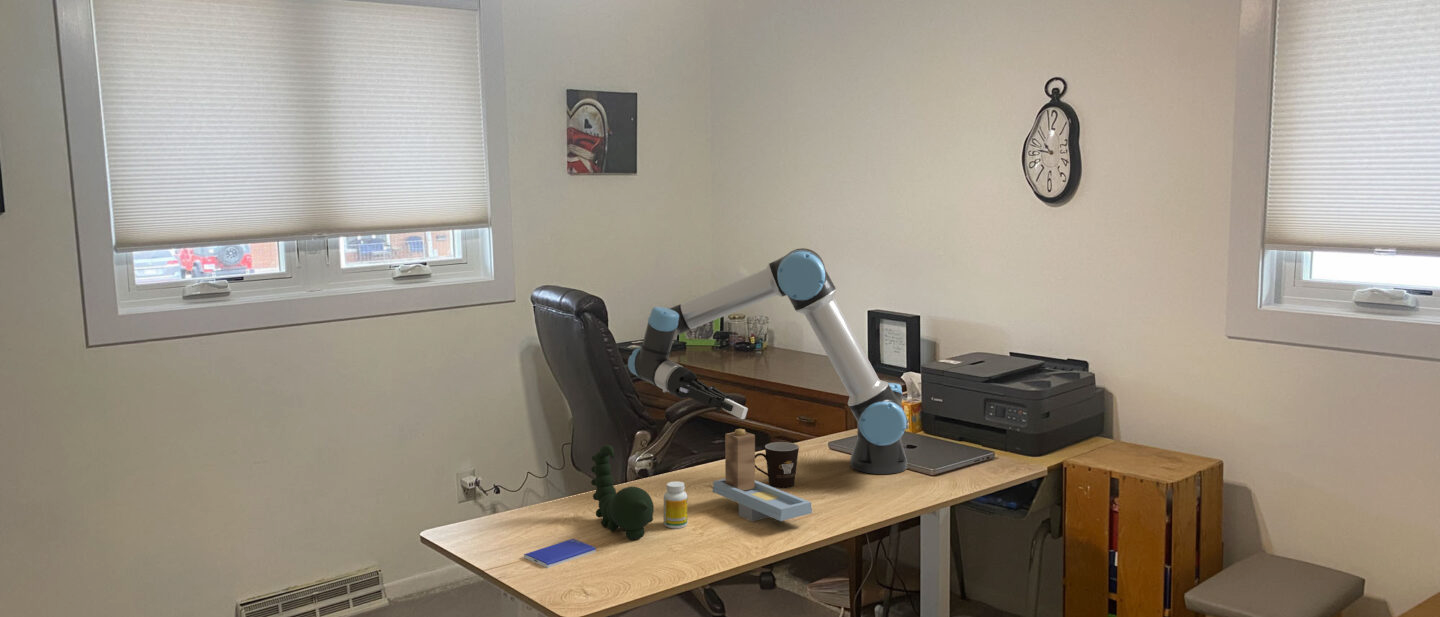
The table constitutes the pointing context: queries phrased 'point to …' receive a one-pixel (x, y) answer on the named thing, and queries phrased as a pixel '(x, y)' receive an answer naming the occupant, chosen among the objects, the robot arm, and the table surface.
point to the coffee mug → (780, 463)
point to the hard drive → (560, 553)
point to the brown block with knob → (740, 459)
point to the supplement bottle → (675, 505)
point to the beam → (764, 501)
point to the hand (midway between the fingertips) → (744, 413)
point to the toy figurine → (619, 500)
